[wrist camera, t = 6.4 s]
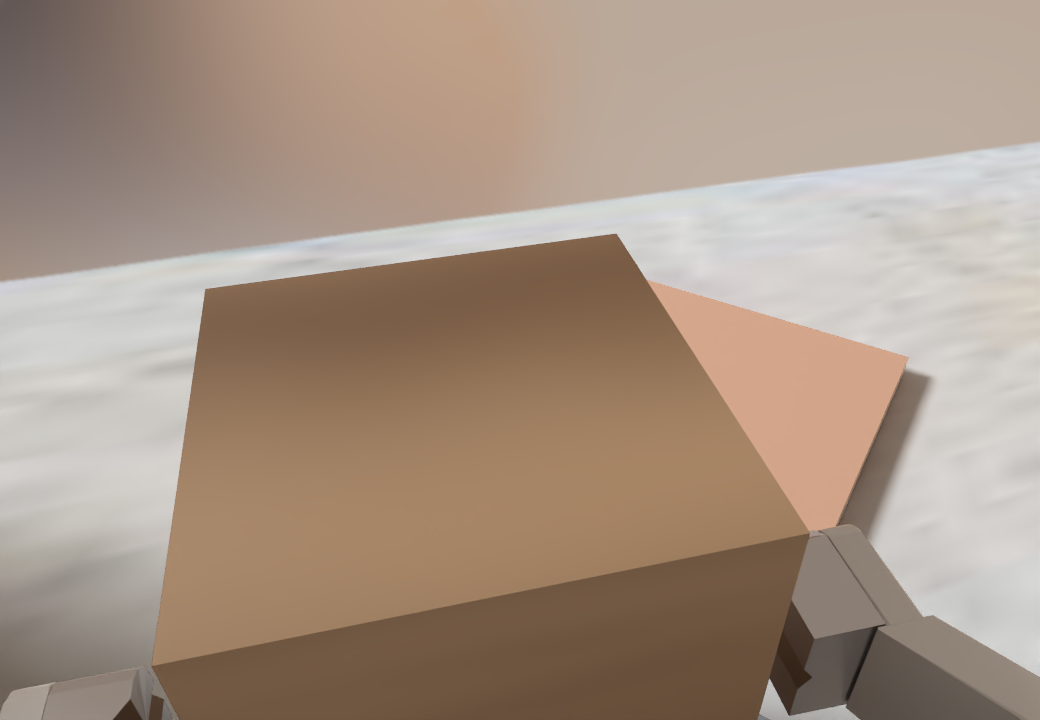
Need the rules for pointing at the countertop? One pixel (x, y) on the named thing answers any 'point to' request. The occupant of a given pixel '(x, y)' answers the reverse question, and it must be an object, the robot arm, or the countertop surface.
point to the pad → (793, 395)
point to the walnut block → (468, 503)
